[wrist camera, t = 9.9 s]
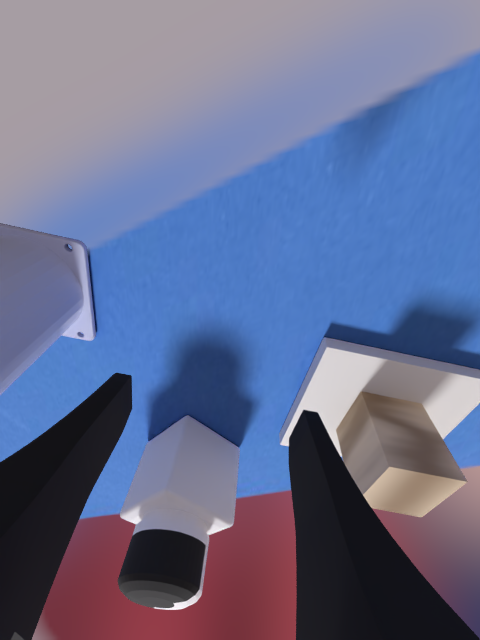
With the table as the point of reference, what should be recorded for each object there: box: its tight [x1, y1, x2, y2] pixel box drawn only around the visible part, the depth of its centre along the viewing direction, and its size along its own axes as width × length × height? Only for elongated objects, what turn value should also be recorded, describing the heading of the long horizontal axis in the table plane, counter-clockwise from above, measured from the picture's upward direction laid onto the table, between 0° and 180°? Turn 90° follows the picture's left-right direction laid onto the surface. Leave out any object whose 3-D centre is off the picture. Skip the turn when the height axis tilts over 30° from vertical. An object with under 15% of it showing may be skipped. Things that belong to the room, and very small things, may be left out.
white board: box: [279, 337, 480, 456], centre depth 24 cm, size 13×12×1 cm
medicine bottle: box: [118, 415, 240, 610], centre depth 25 cm, size 7×7×12 cm
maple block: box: [336, 391, 467, 517], centre depth 21 cm, size 5×5×6 cm
